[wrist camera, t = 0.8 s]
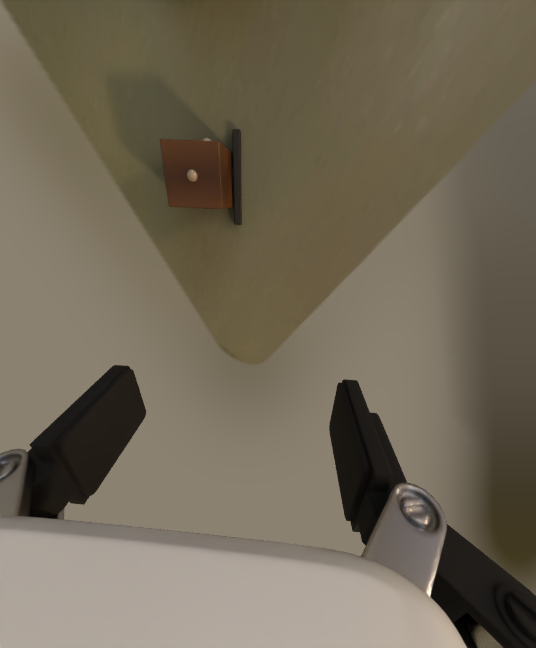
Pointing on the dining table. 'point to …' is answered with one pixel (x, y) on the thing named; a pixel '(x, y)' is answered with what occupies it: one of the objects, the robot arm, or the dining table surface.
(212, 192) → the die
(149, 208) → the dining table surface
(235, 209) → the stop strip
